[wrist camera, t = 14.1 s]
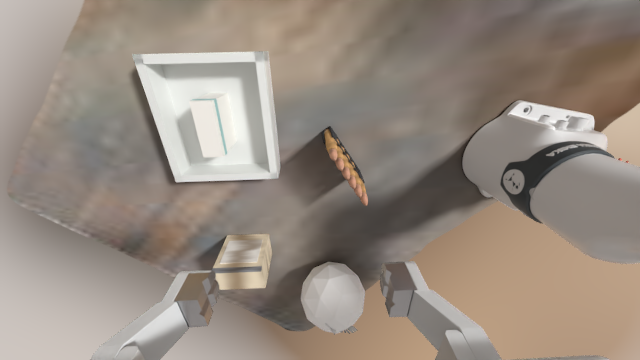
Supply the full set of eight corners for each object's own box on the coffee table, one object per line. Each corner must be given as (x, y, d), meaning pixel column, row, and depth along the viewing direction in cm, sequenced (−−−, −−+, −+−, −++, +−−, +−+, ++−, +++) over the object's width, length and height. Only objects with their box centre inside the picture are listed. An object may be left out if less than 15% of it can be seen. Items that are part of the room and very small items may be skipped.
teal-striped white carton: (227, 92, 38) (212, 100, 32) (236, 141, 42) (224, 157, 36) (208, 92, 38) (188, 101, 32) (218, 141, 42) (203, 157, 36)
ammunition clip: (321, 131, 42) (324, 158, 32) (330, 125, 42) (336, 151, 32) (351, 176, 47) (363, 212, 36) (360, 171, 46) (374, 206, 36)
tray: (268, 51, 36) (263, 51, 32) (280, 167, 45) (277, 178, 41) (152, 53, 36) (132, 54, 32) (188, 170, 45) (175, 182, 41)
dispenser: (268, 233, 53) (260, 268, 44) (271, 253, 56) (265, 291, 47) (227, 234, 53) (210, 270, 44) (232, 255, 55) (218, 293, 47)
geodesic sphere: (390, 283, 53) (366, 328, 41) (361, 320, 59) (332, 369, 47) (337, 240, 59) (302, 268, 47) (315, 278, 65) (279, 312, 53)
